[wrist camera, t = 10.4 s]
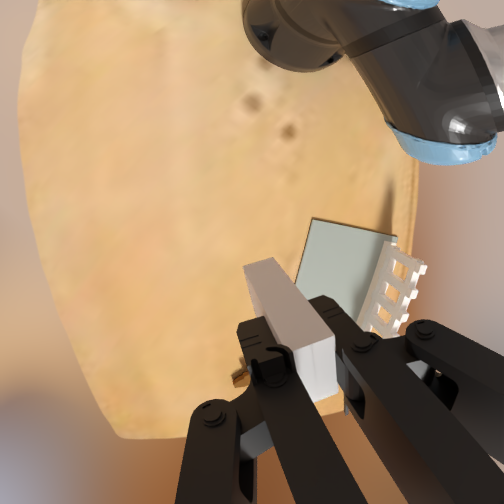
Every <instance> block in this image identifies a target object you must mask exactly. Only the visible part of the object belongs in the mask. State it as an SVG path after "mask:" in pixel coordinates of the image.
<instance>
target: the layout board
mask: <svg viewBox="0 0 504 504" xmlns="http://www.w3.org/2000/svg"><path fill="white" fill-rule="evenodd" d="M397 240H398V237H395V236H390V235H386V234H381V233H377V232H372V231H368V230H363V229H358V228H353V227H349V226H344V225H339V224H334V223H329V222H324V221H319V220H314V219H312V222H311V226H310V230H309V234H308V237H307V241H306V245H305V249H304V253H303V256H302V260H301V264H300V267H299V271H298V275H297V278H296V282H295V285H296V287H297V288H298V289H299V290H300V292H301V293H302V294H303V295H304V297H305V298H306V299H307V300H309V299H312V298H315V297H318V296H321V295H325V296H328V297H330V298H332V299H334V300H335V301H336V302H337V303H338V304H339V306H340V307H341V308H342V309H343V310H344V311H345V313H347V314H348V315H349V316H350V317H351V318H352V319H353V320H354V322H355V323H356V324H357V325H358V326H359V327H360V328H361V326H362V324H363V321H364V314H365V311H366V310H368V308H369V305H370V302H371V299H372V297H371V295H372V292H373V290H375V288H376V285H377V282H378V279H379V276H378V274H379V271H380V268H382V267H383V264H384V261H385V258H386V254H385V252H386V248H387V246H389V245H393V246H396V243H397Z"/></svg>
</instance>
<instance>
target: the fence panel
mask: <svg viewBox="0 0 504 504" xmlns="http://www.w3.org/2000/svg"><path fill="white" fill-rule="evenodd" d="M385 254H386V258H385V261H384V264H383V267H382V268H380V271H379V274H378V276H379V279H378V282H377V285H376V288H375V290H373V292H372V295H371V297H372V299H371V302H370V305H369V308H368V310H366V311H365V314H364V321H363V324H362V326H361V329H362V330H363V331H364V332H365V331H368V332H371V330H372V327H374V328H375V329H376V330H377V331H378V332H379V333H380V334H381V335H382V336H383V337H382V339H387V338H393V337H398V336H400V335H398V334H397V331H398V329H399V326H400V324H401V322H406V321H407V319H408V316H409V313H408V312H406V310H407V307H408V304H409V302H410V299H415V298H416V296H417V294H418V290H417V289H416V288H415V286H416V283H417V281H418V278H419V275H420V274H423V275H424V274H425V271H426V268H427V265H425V264H423V263H424V261H422V260H420V259H418V258H413V257H411V256H409V255H408V254H406V253H404V252H402V251H400V248H399V247H397V246H393V245H389V246H387V248H386V252H385ZM396 261H398V262H400V263H401V264H403V265H405V266H406V267H408V268H409V270H408V272H407V275H406V278H405V281H404V280H403V279H401V278H400V277H398V276H397V275H395V274H394V273H393V270H394V267H395V264H396ZM389 284H390V285H391V286H393V287H394V288H395V289H397V290H398V291H399V292H400V295H399V298H398V300H397V303H395V302H394V301H393V300H392V299H390V298H389V297H388V296H387V295H385V293H386V290H387V288H388V285H389ZM381 306H382V307H383V308H384V309H385V310H386V311H388V312H389V313H390V314H391V315H392V316H391V318H390V321H389V323H388V324H387V323H386V322H385V321H384V320H383V319H381V318H380V317H379V316H378V312H379V309H380V307H381Z"/></svg>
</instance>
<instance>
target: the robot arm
mask: <svg viewBox="0 0 504 504" xmlns="http://www.w3.org/2000/svg"><path fill="white" fill-rule="evenodd" d="M439 1H440V0H250V1H249V3H248V5H247V7H246V9H245V12H244V19H243V22H244V29H245V32H246V35H247V38H248V39H249V41H250V43H251V44H252V46H253V47H254V48H255V50H256V51H257V52H258V53H259V54H260V55H261V56H263V57H264V58H265V59H266V60H268V61H269V62H271V63H273V64H274V65H276V66H278V67H281V68H283V69H286V70H290V71H294V72H315V71H319V70H322V69H324V68H326V67H328V66H331V65H333V64H334V63H336V62H337V61H338V60H340V59H341V58H342V57H343V56H344V54H345V53H346V54H347V55H348V57H349V58H350V60H351V62H352V63H353V65H354V66H355V68H356V69H357V71H358V72H359V74H360V76H361V77H362V79H363V80H364V82H365V84H366V85H367V87H368V88H369V90H370V92H371V93H372V95H373V97H374V99H375V101H376V102H377V104H378V106H379V108H380V110H381V112H382V114H383V115H384V120H385V122H386V124H387V125H388V127H389V128H390V129H391V130H392V131H393V133H394V135H395V136H396V138H397V140H398V142H399V144H400V146H401V147H402V149H403V150H404V151H405V152H406V153H407V154H408V155H410V156H412V157H414V158H416V159H418V160H419V161H421V162H425V163H428V164H434V165H459V164H466V163H470V162H473V161H476V160H479V159H481V157H482V155H488V154H489V153H490V152H492V151H493V149H494V148H495V146H496V142H497V141H496V140H497V132H502V131H504V25H501V26H497V27H493V28H489V29H485V28H480V27H478V26H477V25H475V24H473V23H471V22H469V21H467V20H465V19H461V20H459V21H455V22H452V23H448V22H447V21H446V19H445V18H444V16H443V14H442V13H441V11H440V9H439V8H438V6H437V4H438V2H439ZM243 269H244V273H245V277H246V281H247V285H248V288H249V292H250V296H251V300H252V304H253V307H254V311H255V314H256V317H257V318H254V319H251V320H248V321H245V322H241V323H239V325H238V329H237V332H236V333H237V336H238V339H239V342H240V345H241V349H242V352H243V355H244V358H245V361H246V364H247V369H248V372H249V375H250V384H249V386H248V388H247V389H246V391H245V392H244V393H243V394H241V395H240V396H239V397H237V398H236V399H234V400H232V401H230V402H228V401H226V400H223V399H213V400H209V401H206V402H204V403H202V404H200V405H199V406H198V407H197V408H196V409H195V410H194V411H193V414H192V416H191V419H190V424H189V429H188V434H187V439H186V444H185V450H184V455H183V460H182V465H181V472H180V477H179V482H178V488H177V493H176V499H175V504H257V456H258V455H260V454H262V453H263V452H265V451H266V450H268V449H270V448H271V447H272V446H274V447H275V449H276V452H277V455H278V458H279V460H280V463H281V466H282V469H283V471H284V474H285V476H286V479H287V482H288V484H289V487H290V490H291V492H292V495H293V497H294V500H295V502H296V504H368V503H367V501H366V499H365V497H364V495H363V494H362V492H361V490H360V488H359V486H358V485H357V483H356V481H355V479H354V477H353V475H352V474H351V472H350V470H349V468H348V466H347V464H346V463H345V461H344V459H343V457H342V455H341V454H340V452H339V450H338V448H337V446H336V444H335V442H334V441H333V439H332V437H331V435H330V433H329V431H328V429H327V428H326V426H325V424H324V422H323V420H322V418H321V416H320V414H319V413H318V411H317V409H316V407H315V405H314V402H317V401H319V400H322V399H324V398H327V397H329V396H332V395H334V394H337V393H338V384H339V385H340V387H341V388H342V390H343V391H344V412H345V415H348V408H349V410H350V411H351V413H352V415H353V416H354V418H355V419H356V421H357V423H358V424H359V426H360V427H361V429H362V431H363V432H364V434H365V435H366V437H367V439H368V440H369V442H370V443H371V445H372V446H373V448H374V450H375V451H376V453H377V454H378V456H379V458H380V459H381V461H382V462H383V464H384V466H385V467H386V469H387V470H388V472H389V473H390V475H391V477H392V478H393V480H394V481H395V483H396V484H397V486H398V488H399V489H400V491H401V493H402V494H403V495H404V497H405V499H406V500H407V502H408V504H504V473H503V472H502V471H501V469H500V468H499V467H498V466H497V464H496V463H495V462H494V461H493V460H492V459H491V458H490V456H492V457H493V458H495V459H496V460H498V461H499V462H501V463H502V464H504V356H502V355H500V354H498V353H496V352H494V351H492V350H490V349H488V348H486V347H484V346H482V345H480V344H479V343H477V342H475V341H473V340H471V339H469V338H467V337H465V336H463V335H461V334H459V333H457V332H455V331H453V330H451V329H449V328H447V327H445V326H443V325H441V324H439V323H437V322H435V321H431V320H424V319H423V320H417V321H414V322H413V323H411V324H410V325H409V326H408V327H407V328H406V334H405V335H404V336H398V337H393V338H387V339H382V338H381V337H380V336H378V335H377V334H376V333H372V332H368V331H365V332H364V331H363V330H362V329H361V328H360V327H359V326H358V325H357V324H356V323H355V322H354V320H353V319H352V318H351V317H350V316H349V315H348V314H347V313H345V311H344V310H343V309H342V308H341V307H340V306H339V304H338V303H337V302H336V301H335V300H334V299H332V298H330V297H328V296H325V295H321V296H318V297H315V298H312V299H309V300H307V299H306V298H305V297H304V295H303V294H302V293H301V292H300V290H299V289H298V288H297V287H296V285H295V284H294V283H293V282H292V280H291V279H290V278H289V277H288V275H287V274H286V273H285V272H284V270H283V269H282V268H281V267H280V265H279V264H278V263H277V261H276V260H275V259H274V258H273V257H272V258H268V259H265V260H262V261H258V262H255V263H252V264H248V265H245V266H243ZM436 370H438V371H439V372H441V373H437V372H436ZM488 454H489V455H490V456H489V455H488Z"/></svg>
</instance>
